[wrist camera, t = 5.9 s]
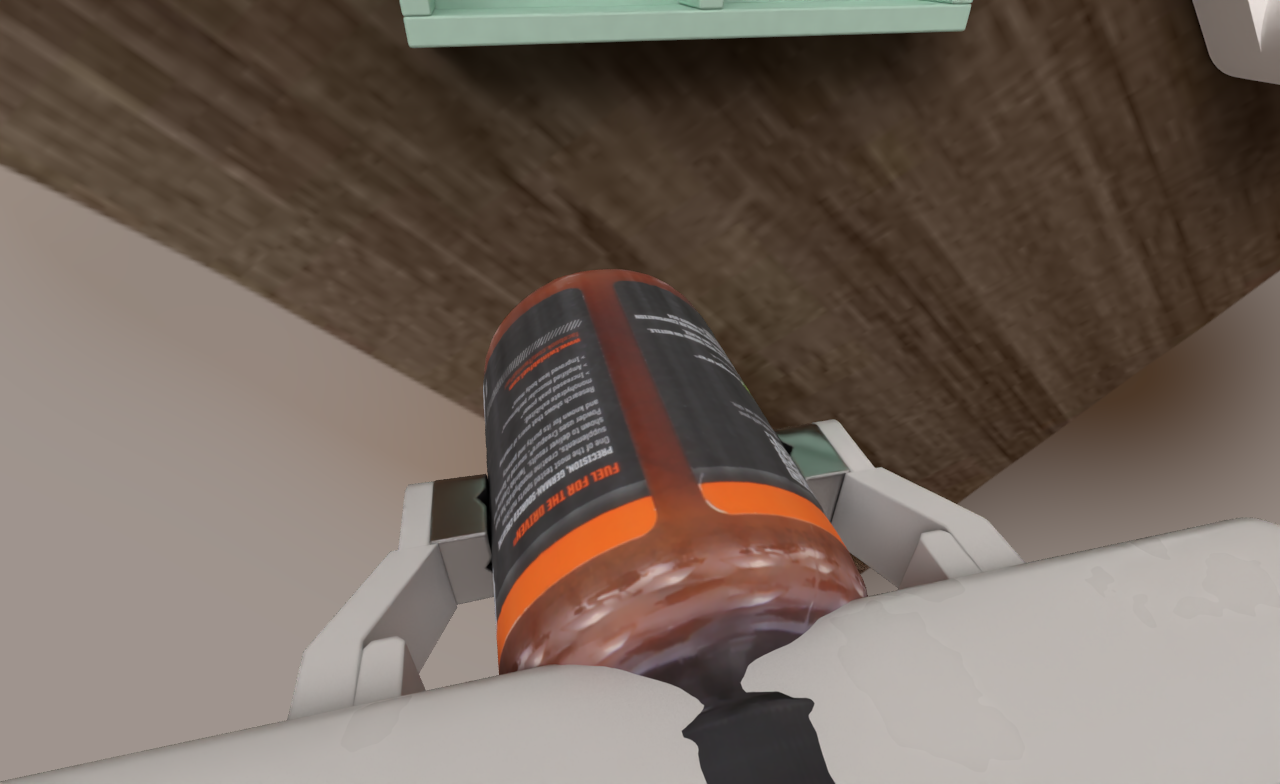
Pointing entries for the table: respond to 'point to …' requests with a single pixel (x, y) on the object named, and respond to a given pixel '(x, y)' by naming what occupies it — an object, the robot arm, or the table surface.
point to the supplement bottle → (653, 515)
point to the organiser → (665, 20)
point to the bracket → (1242, 37)
